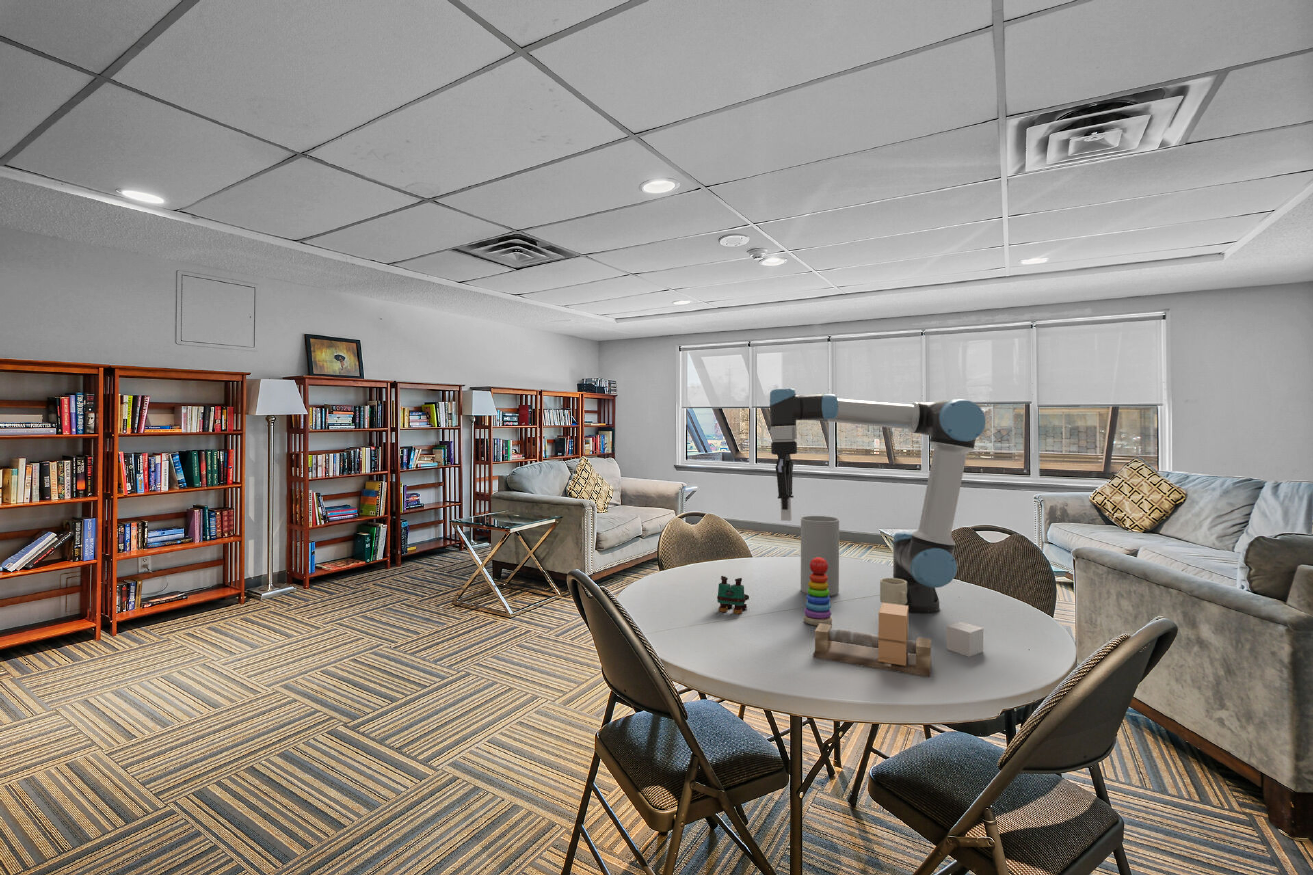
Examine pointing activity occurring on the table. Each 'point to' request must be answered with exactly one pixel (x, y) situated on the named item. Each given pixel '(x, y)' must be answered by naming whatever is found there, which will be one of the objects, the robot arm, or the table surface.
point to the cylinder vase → (820, 549)
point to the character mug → (893, 591)
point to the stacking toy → (818, 594)
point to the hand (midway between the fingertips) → (786, 520)
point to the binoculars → (731, 596)
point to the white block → (965, 638)
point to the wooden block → (893, 634)
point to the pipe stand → (869, 650)
